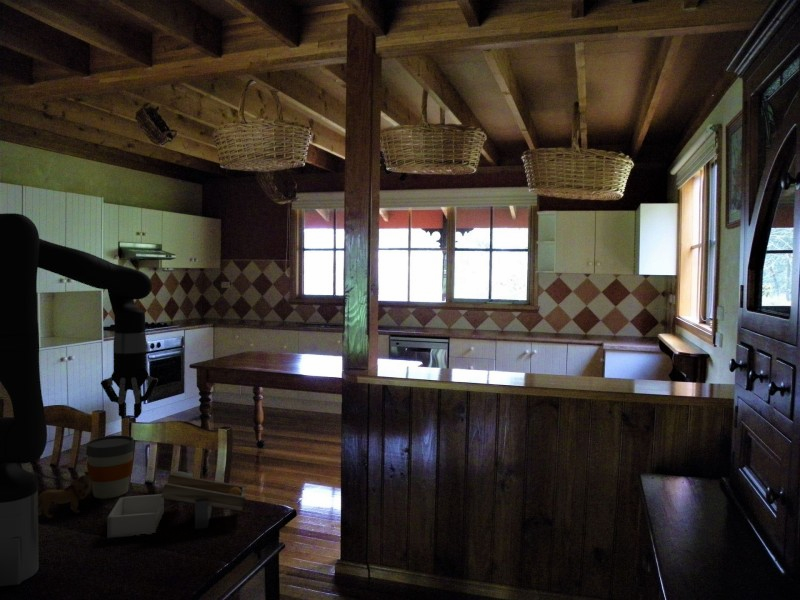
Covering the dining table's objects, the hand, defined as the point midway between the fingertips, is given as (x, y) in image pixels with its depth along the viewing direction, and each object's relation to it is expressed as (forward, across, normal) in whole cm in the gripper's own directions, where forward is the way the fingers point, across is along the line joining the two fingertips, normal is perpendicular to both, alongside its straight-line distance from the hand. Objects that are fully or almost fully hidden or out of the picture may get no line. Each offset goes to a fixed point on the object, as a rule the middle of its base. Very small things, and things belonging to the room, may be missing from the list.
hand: (130, 417), depth 140 cm
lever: (+22, +18, +2) cm, 28 cm away
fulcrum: (+27, +18, -2) cm, 33 cm away
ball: (+21, +26, -2) cm, 33 cm away
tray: (+27, +2, -2) cm, 27 cm away
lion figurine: (+27, -18, +10) cm, 34 cm away
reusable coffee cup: (+27, -10, +22) cm, 36 cm away
